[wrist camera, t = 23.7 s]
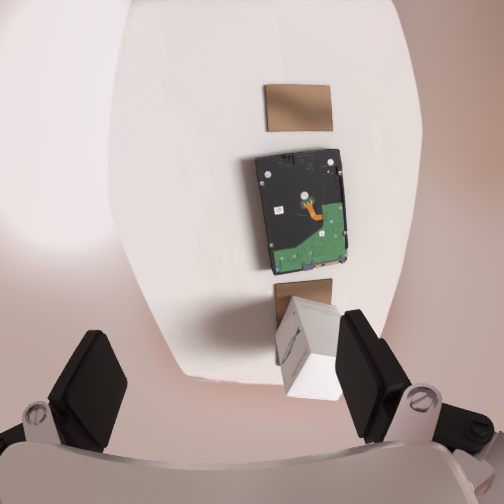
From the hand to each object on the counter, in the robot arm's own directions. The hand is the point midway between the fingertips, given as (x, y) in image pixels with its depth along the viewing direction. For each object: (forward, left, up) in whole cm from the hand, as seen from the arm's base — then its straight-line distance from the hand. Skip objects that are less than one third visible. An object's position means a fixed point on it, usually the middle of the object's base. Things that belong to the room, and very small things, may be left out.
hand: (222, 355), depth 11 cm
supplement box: (+17, +9, -27) cm, 33 cm away
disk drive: (+1, +9, -28) cm, 29 cm away
